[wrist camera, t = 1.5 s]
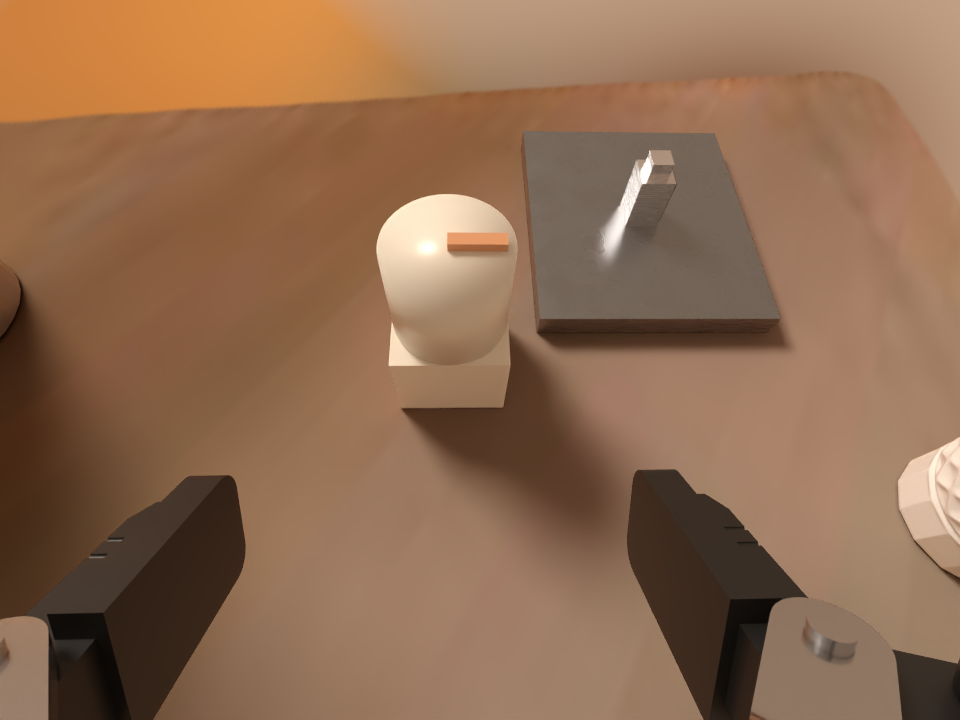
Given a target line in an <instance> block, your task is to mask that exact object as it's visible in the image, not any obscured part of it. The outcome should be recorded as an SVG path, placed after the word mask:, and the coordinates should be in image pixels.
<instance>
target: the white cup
mask: <svg viewBox="0 0 960 720" xmlns="http://www.w3.org/2000/svg"><path fill="white" fill-rule="evenodd" d="M898 498H899V510H900V512H901V514H902V516H903V518H904V520H905V522H906V525H907V527H908V529H909V531H910V533H911V535H912V537H913V539H914V540H915V541H916V542H917V543H918V544H919V546H920V547H921V548H922V549H923V550H924V551H925V552H926V553H927V554H928V555H929V556H930V557H931V558H932V559H933V560H934V561H935V562H936V563H937V564H938V565H939V566H940V567H941V568H942V569H944V570H946V571H948V572H950V573H952V574H953V575H955V576H957V577H959V578H960V436H959V437H958V438H957V439H955V440H954V441H953V442H950V443H948V444H946V445H945V446H943V447H941V448H939V449H936V450H934V451H932V452H929V453H927V454H925V455H922V456H920V457H918V458H916V459H913V460H911V461H910V462H909V464H908V465H907V467H906V469H905V470H904V472H903V474H902V475H901V477H900V479H899V480H898Z"/></svg>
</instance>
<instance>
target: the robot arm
mask: <svg viewBox="0 0 960 720" xmlns="http://www.w3.org/2000/svg"><path fill="white" fill-rule="evenodd" d="M20 293H21V289H20V285H19V281H18V278H17V277H16V275H15V274H14V272H13V270H12V269H11V268H9V267H8V266H7V265H6V264H4V263H3V262H2V261H1V260H0V337H1V336H2V335H3V333H4V332H5V331H6V330H7V328H8V327H9V325H10V323H11V322H12V320H13V319H14V317H15V314H16V312H17V309H18V306H19V303H20ZM627 547H628V555H629V560H630V564H631V567H632V569H633V572H634V574H635V576H636V578H637V580H638V582H639V584H640V586H641V589H642V591H643V593H644V595H645V597H646V599H647V601H648V603H649V605H650V608H651V610H652V612H653V614H654V616H655V618H656V620H657V622H658V624H659V626H660V629H661V631H662V633H663V635H664V637H665V639H666V641H667V643H668V645H669V648H670V650H671V652H672V654H673V656H674V658H675V660H676V662H677V664H678V667H679V669H680V671H681V673H682V675H683V677H684V679H685V681H686V683H687V685H688V688H689V690H690V692H691V694H692V696H693V698H694V700H695V702H696V704H697V707H698V709H699V711H700V713H701V715H702V717H703V719H704V720H960V659H959V662H958V664H956V663H951V662H947V661H942V660H938V659H933V658H928V657H924V656H919V655H915V654H910V653H906V652H901V651H897V650H893V649H891V647H890V645H889V644H888V643H887V641H886V640H885V639H884V638H883V637H882V636H881V635H880V633H879V632H877V631H876V630H875V629H874V628H873V627H872V626H871V625H869V624H868V623H866V622H865V621H864V620H862V619H861V618H859V617H857V616H856V615H854V614H852V613H851V612H849V611H847V610H845V609H843V608H840V607H838V606H836V605H833V604H830V603H827V602H824V601H821V600H816V599H812V598H808V597H807V596H806V595H805V594H804V593H803V592H802V591H801V590H800V588H799V587H798V586H797V585H796V584H795V583H794V582H793V581H792V579H791V578H790V577H789V576H788V575H787V574H786V573H785V572H784V570H783V569H782V568H781V567H780V566H779V565H778V564H777V563H776V561H775V560H774V559H773V558H772V557H771V556H770V555H769V554H768V553H767V551H766V550H765V549H764V548H763V547H762V546H759V545H758V541H757V540H756V539H755V538H754V537H753V536H752V535H751V533H750V532H749V531H748V530H745V529H744V526H743V524H742V523H741V522H740V521H739V520H738V519H737V518H736V517H735V515H734V514H733V513H732V512H731V511H730V510H729V509H728V508H727V507H725V506H723V505H722V504H720V503H719V502H717V501H715V500H714V499H712V498H711V497H709V496H707V495H706V494H696V493H695V491H694V490H693V489H692V488H691V487H690V485H689V484H688V483H687V482H686V481H685V479H684V478H683V477H682V476H681V475H680V473H679V472H678V471H676V470H637V471H636V473H635V475H634V478H633V485H632V494H631V504H630V514H629V524H628V534H627ZM244 559H245V538H244V531H243V525H242V518H241V512H240V505H239V499H238V492H237V486H236V483H235V480H234V479H233V478H232V477H231V476H229V475H220V476H189V477H187V478H185V479H184V480H183V481H182V482H181V483H180V484H179V485H178V486H177V487H176V488H175V489H174V490H173V491H172V492H171V493H170V494H169V495H168V496H167V497H166V498H165V499H164V500H163V501H162V502H156V503H155V504H153V505H151V506H149V507H148V508H146V509H144V510H143V511H141V512H139V513H137V514H136V515H134V516H132V517H130V518H129V519H127V520H126V521H125V522H124V523H123V524H122V525H121V526H120V527H119V528H118V529H117V530H116V531H115V532H114V533H112V534H111V535H110V536H109V537H108V541H104V542H103V543H102V544H101V545H100V546H99V547H97V548H96V549H95V550H94V551H93V552H92V553H91V556H90V558H86V559H85V560H83V561H82V562H81V563H80V564H79V565H78V566H77V567H76V568H75V569H74V570H73V571H72V572H71V573H70V574H68V575H67V576H66V577H65V578H64V579H63V580H62V581H61V582H60V583H59V584H58V585H57V586H56V587H55V588H53V589H52V590H51V591H50V592H49V593H48V594H47V595H46V596H45V597H44V598H43V599H42V600H41V601H40V602H38V603H37V604H36V605H35V606H34V607H33V608H32V609H31V610H30V611H29V612H28V613H27V614H26V615H24V616H20V617H11V618H5V619H1V620H0V720H153V718H154V717H155V715H156V713H157V712H158V710H159V708H160V707H161V705H162V703H163V702H164V700H165V699H166V697H167V695H168V694H169V692H170V690H171V689H172V687H173V685H174V684H175V682H176V680H177V679H178V677H179V675H180V674H181V672H182V670H183V669H184V667H185V665H186V664H187V662H188V660H189V659H190V657H191V655H192V654H193V652H194V650H195V649H196V647H197V645H198V644H199V642H200V641H201V639H202V637H203V636H204V634H205V632H206V631H207V629H208V627H209V626H210V624H211V622H212V621H213V619H214V617H215V616H216V614H217V612H218V611H219V609H220V607H221V606H222V604H223V602H224V601H225V599H226V597H227V596H228V594H229V592H230V591H231V589H232V587H233V586H234V584H235V583H236V581H237V579H238V577H239V576H240V573H241V571H242V568H243V564H244Z"/></svg>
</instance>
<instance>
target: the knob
mask: <svg viewBox="0 0 960 720" xmlns="http://www.w3.org/2000/svg"><path fill="white" fill-rule="evenodd" d="M517 249H518V245H517V239H516V236H515V233H514V230H513V228H512V226H511V225H510V223H509V222H508V220H507V219H506V218H505V217H504V216H503V215H502V214H501V213H500V212H499V211H498V210H496V209H495V208H493V207H492V206H490V205H489V204H487V203H485V202H483V201H480V200H478V199H475V198H471V197H467V196H462V195H454V194H440V195H432V196H428V197H423V198H420V199H417V200H415V201H412V202H410V203H408V204H406V205H405V206H403V207H401V208H400V209H399V210H397V211H396V212H395V213H394V214H393V215H392V216H391V217H390V218H389V219H388V220H387V221H386V223H385V224H384V226H383V227H382V229H381V231H380V234H379V237H378V241H377V258H378V263H379V267H380V271H381V275H382V280H383V284H384V288H385V293H386V297H387V301H388V306H389V310H390V314H391V319H392V327H391V341H390V354H389V369H390V372H391V376H392V380H393V383H394V387H395V390H396V394H397V397H398V401H399V404H400V408H502V407H503V405H504V400H505V394H506V389H507V383H508V377H509V372H510V366H511V363H510V344H509V326H508V315H509V308H510V301H511V294H512V287H513V280H514V273H515V266H516V259H517Z"/></svg>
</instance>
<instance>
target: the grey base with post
mask: <svg viewBox="0 0 960 720" xmlns="http://www.w3.org/2000/svg"><path fill="white" fill-rule="evenodd" d="M521 153H522V165H523V177H524V188H525V200H526V212H527V224H528V236H529V247H530V259H531V271H532V283H533V295H534V306H535V318H536V330H537V333H571V332H768V331H769V330H770V329H771V328H772V327H773V326H774V325H775V324H776V323H777V322H778V321H779V320H780V319H781V318H780V315H779V312H778V309H777V307H776V304H775V301H774V298H773V295H772V293H771V290H770V287H769V284H768V281H767V279H766V276H765V273H764V270H763V267H762V265H761V262H760V259H759V256H758V253H757V251H756V248H755V245H754V242H753V239H752V237H751V234H750V231H749V228H748V225H747V223H746V220H745V217H744V214H743V211H742V209H741V206H740V203H739V200H738V197H737V195H736V192H735V189H734V186H733V183H732V181H731V178H730V175H729V172H728V169H727V167H726V164H725V161H724V158H723V155H722V153H721V150H720V147H719V144H718V141H717V139H716V136H715V134H706V133H624V132H542V131H523V138H522V146H521Z"/></svg>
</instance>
